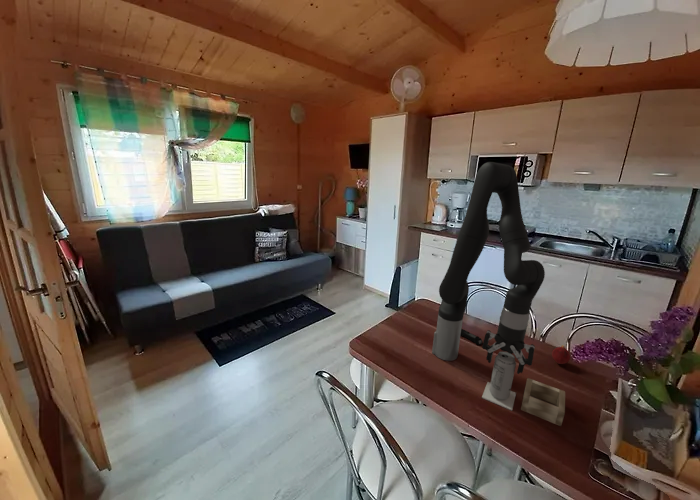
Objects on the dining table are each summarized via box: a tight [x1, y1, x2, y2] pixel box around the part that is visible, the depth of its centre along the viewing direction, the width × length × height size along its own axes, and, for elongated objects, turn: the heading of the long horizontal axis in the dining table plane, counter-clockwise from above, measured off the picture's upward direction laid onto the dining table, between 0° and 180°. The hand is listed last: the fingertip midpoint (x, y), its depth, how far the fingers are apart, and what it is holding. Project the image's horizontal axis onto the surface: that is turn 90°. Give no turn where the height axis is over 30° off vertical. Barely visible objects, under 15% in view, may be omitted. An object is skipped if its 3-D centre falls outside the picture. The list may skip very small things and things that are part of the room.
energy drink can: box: [489, 350, 517, 400], centre depth 99 cm, size 6×6×15 cm
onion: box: [551, 344, 571, 365], centre depth 117 cm, size 6×6×8 cm
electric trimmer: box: [460, 328, 484, 346], centre depth 135 cm, size 4×16×3 cm, turn 35°
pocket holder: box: [520, 377, 566, 427], centre depth 96 cm, size 11×11×5 cm
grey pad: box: [481, 381, 517, 411], centre depth 101 cm, size 9×9×1 cm
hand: (503, 366), depth 98 cm, fingers open, 8 cm apart
